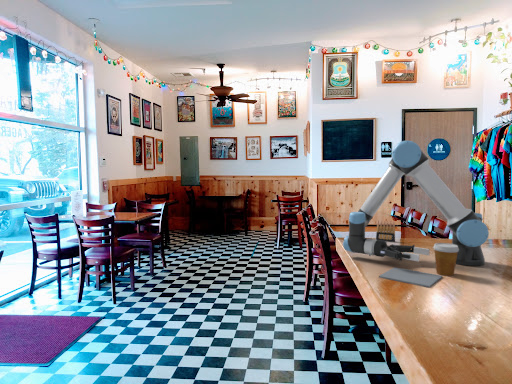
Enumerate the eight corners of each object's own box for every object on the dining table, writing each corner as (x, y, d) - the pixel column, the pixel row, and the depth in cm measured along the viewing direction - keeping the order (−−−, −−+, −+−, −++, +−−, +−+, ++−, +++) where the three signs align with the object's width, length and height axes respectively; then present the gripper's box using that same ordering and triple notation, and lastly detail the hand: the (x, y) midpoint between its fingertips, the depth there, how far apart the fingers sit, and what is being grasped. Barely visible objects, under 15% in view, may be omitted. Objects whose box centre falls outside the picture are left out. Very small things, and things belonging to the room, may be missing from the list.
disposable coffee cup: (454, 271, 156) (456, 243, 155) (460, 278, 147) (462, 248, 146) (430, 269, 159) (431, 242, 158) (434, 276, 150) (435, 246, 149)
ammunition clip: (395, 241, 218) (395, 221, 217) (394, 242, 217) (395, 221, 216) (376, 239, 223) (376, 220, 223) (375, 240, 222) (376, 220, 221)
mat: (394, 268, 161) (394, 267, 161) (442, 277, 148) (442, 275, 148) (378, 277, 148) (378, 275, 148) (429, 287, 135) (429, 285, 135)
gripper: (386, 251, 181) (432, 258, 167) (364, 260, 163) (414, 269, 149) (386, 236, 181) (433, 241, 167) (364, 243, 162) (414, 251, 148)
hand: (424, 255), depth 158 cm, fingers open, 13 cm apart
